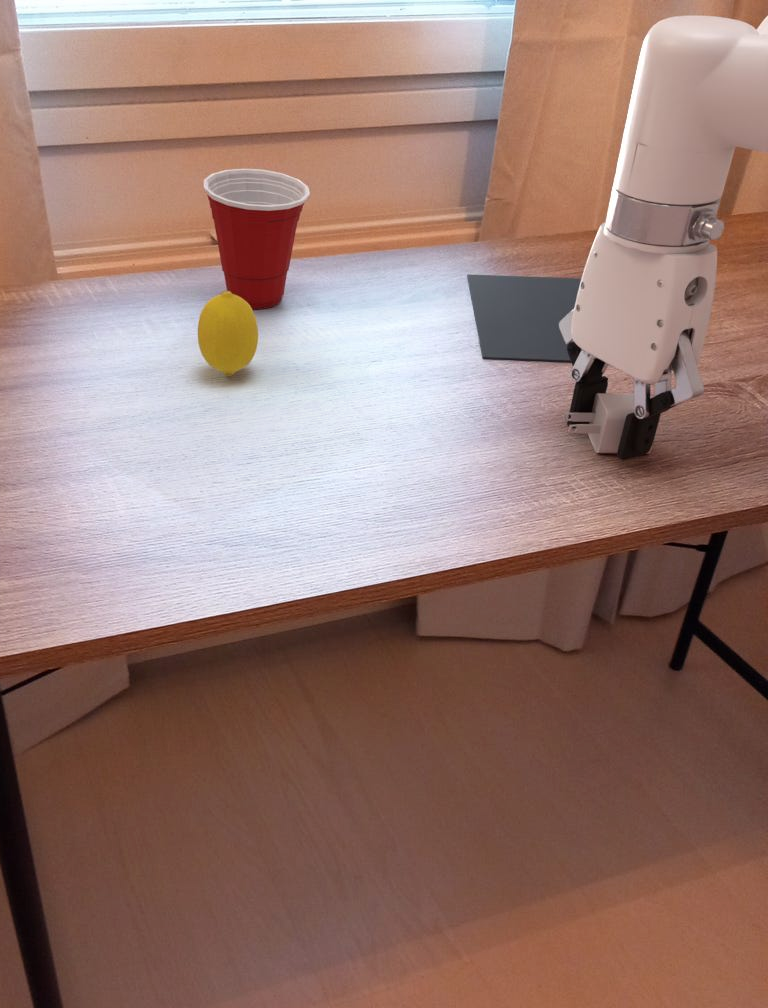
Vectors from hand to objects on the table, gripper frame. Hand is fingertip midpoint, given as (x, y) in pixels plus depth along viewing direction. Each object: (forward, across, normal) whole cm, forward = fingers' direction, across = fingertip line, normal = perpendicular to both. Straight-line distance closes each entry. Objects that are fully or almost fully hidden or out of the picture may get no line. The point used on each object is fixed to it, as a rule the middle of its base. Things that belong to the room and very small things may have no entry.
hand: (607, 437), depth 86 cm
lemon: (+1, +27, +22) cm, 35 cm away
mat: (+1, +23, -15) cm, 28 cm away
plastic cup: (+1, +42, +11) cm, 43 cm away
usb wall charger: (+1, 0, 0) cm, 1 cm away
